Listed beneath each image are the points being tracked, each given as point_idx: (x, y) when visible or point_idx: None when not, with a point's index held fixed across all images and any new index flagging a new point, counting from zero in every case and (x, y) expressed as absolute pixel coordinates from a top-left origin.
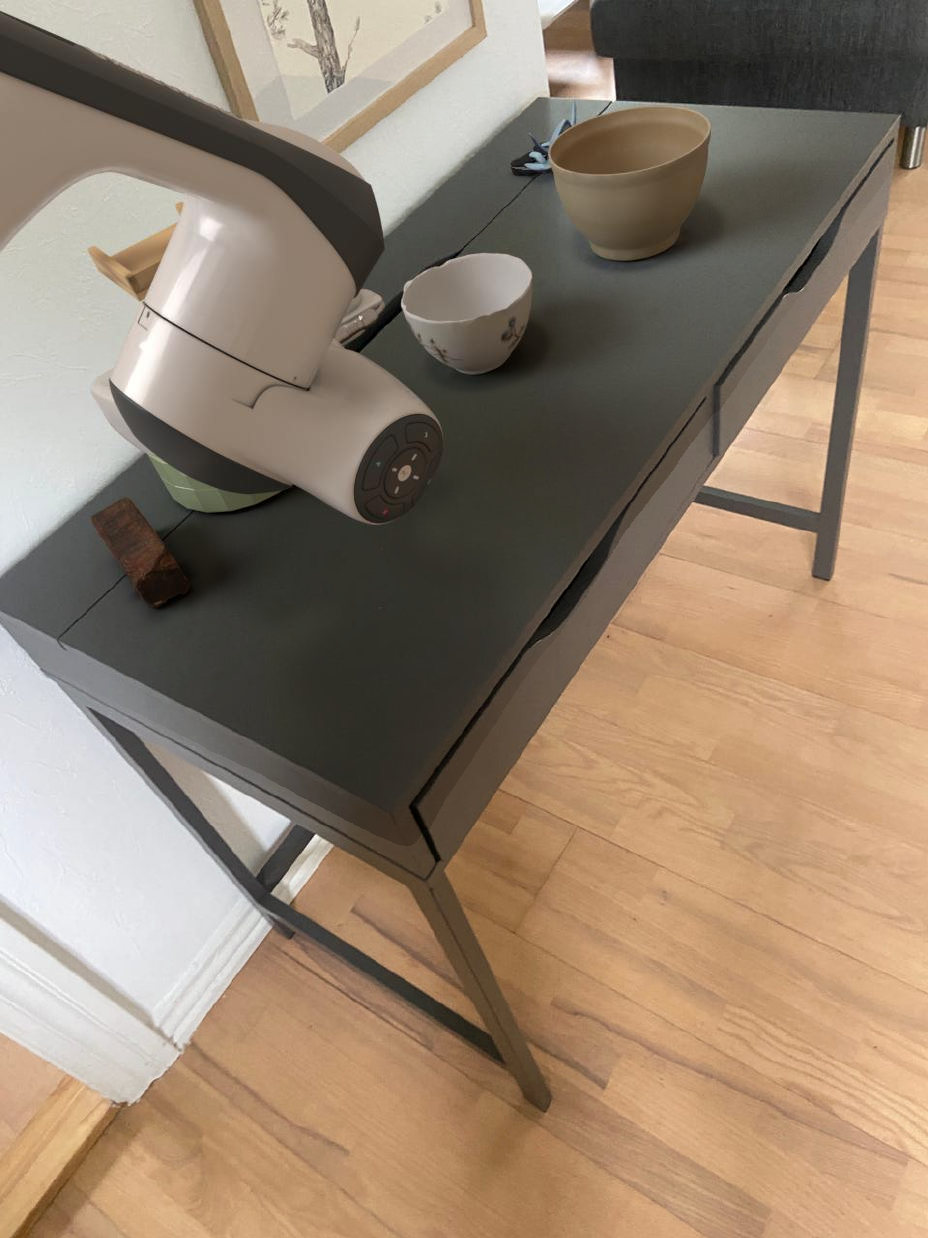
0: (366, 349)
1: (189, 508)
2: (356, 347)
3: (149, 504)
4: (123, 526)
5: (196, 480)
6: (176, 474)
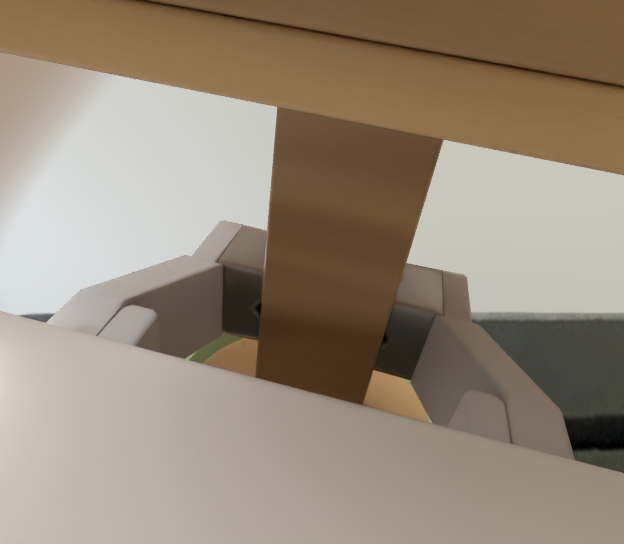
0: (616, 456)
1: None
2: (602, 436)
3: None
4: None
5: None
6: None
